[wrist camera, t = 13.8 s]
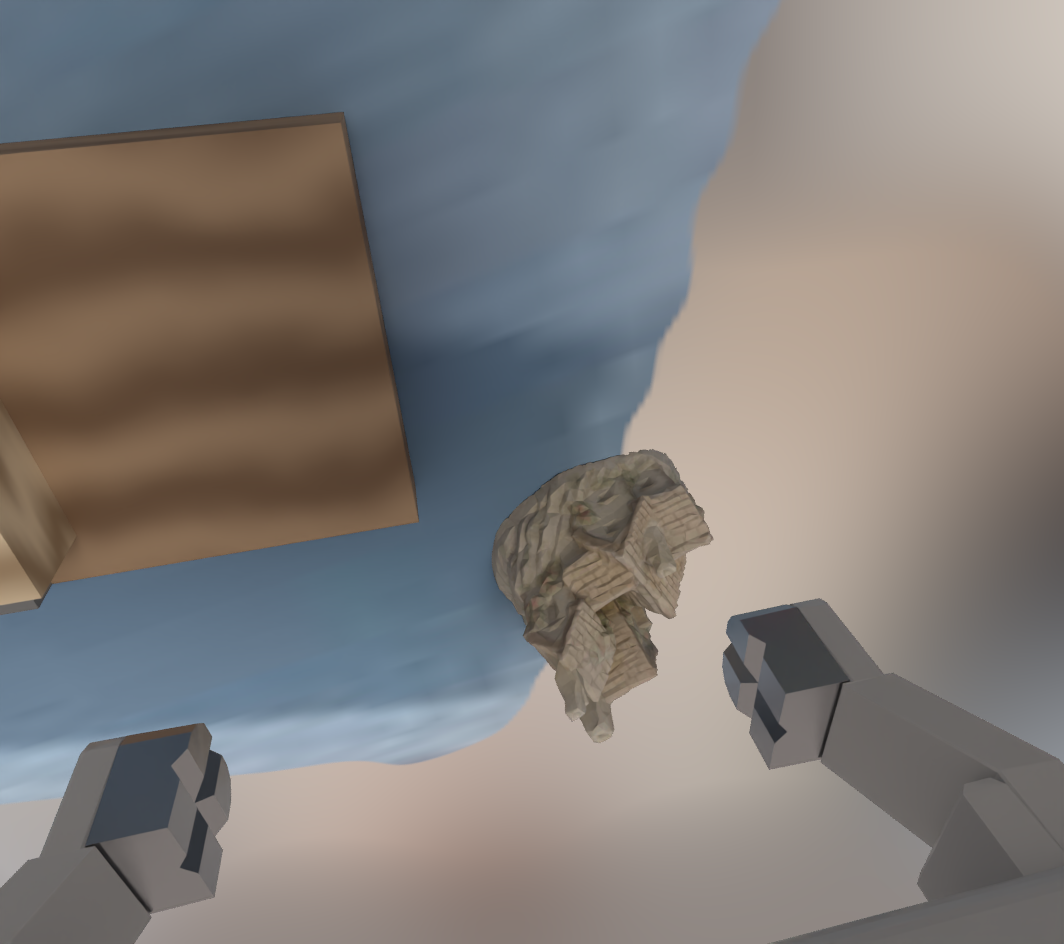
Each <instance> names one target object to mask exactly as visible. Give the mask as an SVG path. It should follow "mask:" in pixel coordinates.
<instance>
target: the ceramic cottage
mask: <svg viewBox="0 0 1064 944" xmlns="http://www.w3.org/2000/svg"><path fill="white" fill-rule="evenodd" d="M629 453H630V454H629V455H620V456H618V455H617V456H615V457H610V458H607V459H605V460H601V461H596V462H595V463H591V462H590V463H586V465H583V466H582V465H578V466H576V467H574V468H573V469H568V470H567V471H563V472H562V473H560V474H558V475H557V476H555V477H554V478H553V479H551V481H548V482H547V483H546V484H544V485H542V487H541V488H540V489H539V490H538V491H537V492H535V494H534V495H531V496H529V497H528V499H526V500H525V501H523V502H522V503H521V504H520V505H519V506H518V507H517V508H516V509H515V510H513V512H512V514H510V516H509V518H506V519H505V520H504V521H503V523H502V524H501V526H500V528H499V530H498V531H497V533H496V536H495V540H494V545H493V551H492V568H493V573H494V577H495V579H496V582H497V584H498V587H499V589H500V590H501V591H502V592H503V593H504V594H505V596H506V598H508V599H509V600H510V601H512V602H513V605H514V606H515V608H516V610H517V612H518V614H520V615H522V617H523V620H524V623H525V625H527V626H526V629H525V632H524V635H523V636H524V638H525V639H526V641H527V642H529V643H530V644H531V645H533V646H534V647H535V648H536V649H537V650H538V652H539V653H540V654H541V655H542V656H543V657H544V658H545V659H546V660H547V662H548V663H549V664H550V666H551V667H552V668H553V669H554V670H555V671H556V675H555V681H556V683H557V686H558V689H559V691H560V693H561V695H562V697H563V699H564V700H565V713H566V714H567V716H568V717H569V718H570V720H571V721H572V722H573V721H575V720H577V719H578V718H580V720H581V721H582V723H583V726H584V728H585V730H586V732H587V733H588V735H589V736H590V738H591V739H592V740H593V742H596V743H601V742H603V741H605V740H607V739H609V738H610V737H611V736H612V734H613V731H614V725H613V720H612V715H611V708H610V704H611V703H612V702H613V701H614V700H616V699H617V698H619V697H621V696H622V695H624V694H626V693H627V692H629V691H630V690H631V689H632V688H634V687H636V686H638V685H640V684H642V683H644V682H647V681H649V680H651V679H652V678H654V677H656V676H657V665H656V662H655V661H656V656H657V655H658V650H657V648H656V647H655V645H654V644H653V643H652V641H651V640H650V637H651V636H650V633H649V631H650V628H651V626H652V622H651V621H650V620H649V619H648V617H647V615H646V611H645V608H646V609H648V610H649V611H652V612H654V613H658V614H662V615H663V616H665V617H666V618H668V619H671V618H674V617H675V616H676V613H675V609H676V608H677V606H678V605H677V600H678V598H679V595H680V590H679V587H680V581H681V580H682V578H683V575H684V573H683V571H684V569H685V564H686V553H687V552H690V551H692V550H693V549H695V548H698V547H700V546H703V545H708V544H710V542H711V541H712V540H713V537H712V535H711V534H710V531H709V527H708V525H707V524H706V522H705V521H704V510H703V509H702V508H701V507H699V506H697V505H696V504H695V500H694V499H693V497H692V495H691V494H690V493H688V491H687V490H688V489H687V488H686V486H685V484H684V483H683V481H681V480H680V475H679V473H678V471H677V470H676V468H675V467H674V464H673V463H672V461H671V460H670V459H669V458H668V456H667V455H666V453H664V454H663V453H662V452H659V451H655V450H653V449H652V450H649V451H648V450H640V451H639V452H638V453H637V452H629Z"/></svg>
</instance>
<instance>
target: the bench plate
mask: <svg viewBox="0 0 1064 944" xmlns="http://www.w3.org/2000/svg"><path fill="white" fill-rule="evenodd" d="M0 399H1V401H2V403H3V405H4V407H5V408H6V410H7V412H8V414H9V416H10V417H11V419H12V421H13V423H14V424H15V426H16V428H17V430H18V432H19V433H20V435H21V437H22V439H23V441H24V442H25V444H26V446H27V448H28V449H29V451H30V453H31V455H32V457H33V458H34V460H35V462H36V464H37V466H38V467H39V469H40V471H41V473H42V474H43V476H44V478H45V480H46V482H47V483H48V485H49V487H50V489H51V491H52V492H53V494H54V496H55V498H56V499H57V501H58V503H59V505H60V507H61V508H62V510H63V512H64V514H65V516H66V517H67V519H68V521H69V523H70V524H71V526H72V528H73V530H74V532H75V533H76V535H77V536H76V538H75V540H74V542H73V543H72V545H71V547H70V549H69V551H68V552H67V554H66V556H65V558H64V560H63V561H62V563H61V565H60V567H59V568H58V570H57V572H56V574H55V576H54V577H53V579H52V581H51V583H52V584H54V583H60V582H66V581H72V580H78V579H84V578H90V577H96V576H102V575H108V574H114V573H119V572H125V571H131V570H137V569H143V568H149V567H155V566H161V565H167V564H173V563H179V562H185V561H191V560H197V559H202V558H208V557H214V556H220V555H226V554H232V553H238V552H244V551H250V550H256V549H262V548H268V547H274V546H280V545H285V544H291V543H297V542H303V541H309V540H315V539H321V538H327V537H333V536H339V535H345V534H351V533H357V532H363V531H368V530H374V529H380V528H386V527H392V526H398V525H404V524H410V523H416V522H419V518H418V508H417V498H416V488H415V482H414V476H413V471H412V466H411V461H410V456H409V450H408V445H407V440H406V435H405V430H404V424H403V419H402V414H401V409H400V404H399V398H398V393H397V388H396V383H395V378H394V372H393V367H392V362H391V357H390V352H389V346H388V341H387V336H386V331H385V326H384V320H383V315H382V310H381V305H380V300H379V294H378V289H377V284H376V279H375V274H374V268H373V263H372V258H371V253H370V248H369V242H368V237H367V232H366V227H365V222H364V216H363V211H362V206H361V201H360V196H359V190H358V185H357V180H356V175H355V170H354V164H353V159H352V154H351V149H350V144H349V138H348V133H347V128H346V123H345V118H344V112H339V113H328V114H317V115H306V116H295V117H284V118H274V119H263V120H252V121H241V122H230V123H219V124H209V125H198V126H187V127H176V128H165V129H154V130H144V131H133V132H122V133H111V134H100V135H89V136H79V137H68V138H57V139H46V140H35V141H24V142H14V143H3V144H0Z"/></svg>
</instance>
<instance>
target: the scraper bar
mask: <svg viewBox="0 0 1064 944" xmlns="http://www.w3.org/2000/svg"><path fill="white" fill-rule="evenodd" d="M76 536H77V535H76V533H75V532H74V530H73V528H72V526H71V524H70V523H69V521H68V519H67V517H66V516H65V514H64V512H63V510H62V508H61V507H60V505H59V503H58V501H57V499H56V498H55V496H54V494H53V492H52V491H51V489H50V487H49V485H48V483H47V482H46V480H45V478H44V476H43V474H42V473H41V471H40V469H39V467H38V466H37V464H36V462H35V460H34V458H33V457H32V455H31V453H30V451H29V449H28V448H27V446H26V444H25V442H24V441H23V439H22V437H21V435H20V433H19V432H18V430H17V428H16V426H15V424H14V423H13V421H12V419H11V417H10V416H9V414H8V412H7V410H6V408H5V407H4V405H3V403H2V401H1V399H0V605H5V604H11V603H17V602H23V601H29V600H34V599H40V598H42V597H43V595H44V594H45V592H46V590H47V588H48V586H49V585H50V583H51V581H52V579H53V577H54V576H55V574H56V572H57V570H58V568H59V567H60V565H61V563H62V561H63V560H64V558H65V556H66V554H67V552H68V551H69V549H70V547H71V545H72V543H73V542H74V540H75V538H76Z"/></svg>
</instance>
